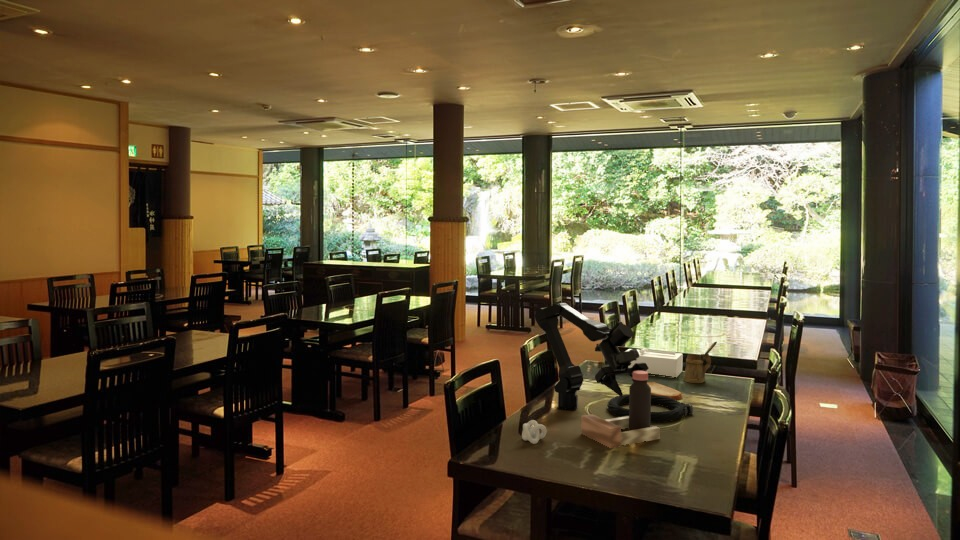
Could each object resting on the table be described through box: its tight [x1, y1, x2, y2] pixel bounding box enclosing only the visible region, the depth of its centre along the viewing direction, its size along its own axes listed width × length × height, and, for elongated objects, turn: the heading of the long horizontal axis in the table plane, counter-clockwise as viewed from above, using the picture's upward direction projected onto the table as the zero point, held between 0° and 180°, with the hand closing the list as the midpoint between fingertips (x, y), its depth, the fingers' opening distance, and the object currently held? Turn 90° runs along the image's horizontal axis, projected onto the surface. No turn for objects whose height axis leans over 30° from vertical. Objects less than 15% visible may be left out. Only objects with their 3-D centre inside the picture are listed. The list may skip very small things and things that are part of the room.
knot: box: [521, 419, 547, 445], centre depth 196 cm, size 8×8×6 cm
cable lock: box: [606, 393, 694, 423], centre depth 228 cm, size 28×4×30 cm
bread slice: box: [647, 381, 684, 401], centre depth 253 cm, size 18×18×4 cm
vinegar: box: [628, 371, 652, 431], centre depth 203 cm, size 7×7×20 cm
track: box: [580, 413, 661, 449], centre depth 200 cm, size 20×15×6 cm
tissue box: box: [624, 347, 684, 378], centre depth 292 cm, size 14×25×11 cm, turn 62°
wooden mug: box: [682, 341, 718, 384], centre depth 272 cm, size 9×14×18 cm, turn 68°
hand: (633, 394), depth 206 cm, fingers open, 9 cm apart
